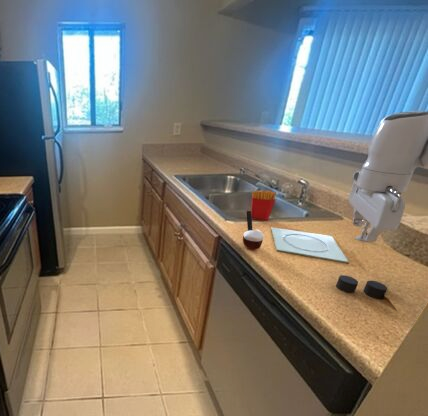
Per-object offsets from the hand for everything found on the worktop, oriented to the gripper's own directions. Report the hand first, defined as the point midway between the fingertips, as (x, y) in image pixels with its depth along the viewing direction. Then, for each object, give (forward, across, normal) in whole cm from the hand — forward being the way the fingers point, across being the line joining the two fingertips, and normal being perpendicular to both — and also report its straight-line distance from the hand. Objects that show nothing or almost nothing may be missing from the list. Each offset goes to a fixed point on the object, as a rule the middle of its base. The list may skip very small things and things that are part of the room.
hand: (362, 232), depth 72 cm
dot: (+16, -2, -6) cm, 18 cm away
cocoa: (+17, +14, +23) cm, 32 cm away
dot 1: (+17, -2, 0) cm, 17 cm away
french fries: (+17, +44, +19) cm, 51 cm away
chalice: (+17, +32, -13) cm, 38 cm away
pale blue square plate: (+17, +24, +5) cm, 30 cm away
